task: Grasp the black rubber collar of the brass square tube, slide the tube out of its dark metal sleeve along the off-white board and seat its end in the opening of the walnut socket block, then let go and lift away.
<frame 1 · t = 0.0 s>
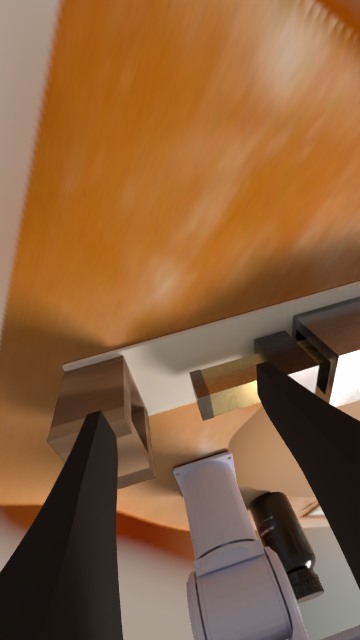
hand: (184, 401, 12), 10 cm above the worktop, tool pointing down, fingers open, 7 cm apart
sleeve: (341, 327, 25), resting on board
board: (241, 353, 25), on the worktop
supplement bottle: (266, 499, 45), on the worktop
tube: (298, 363, 22), point 3 cm above the worktop, slide at 0.0 cm
socket: (110, 394, 24), resting on board
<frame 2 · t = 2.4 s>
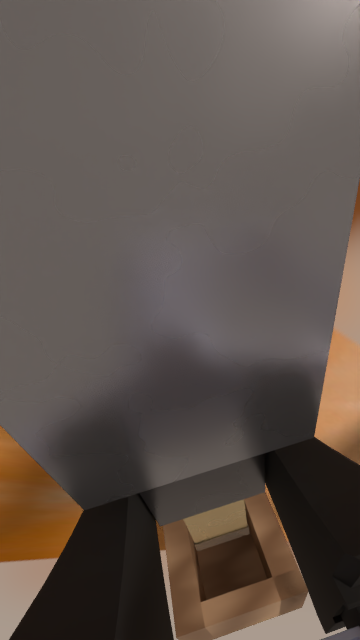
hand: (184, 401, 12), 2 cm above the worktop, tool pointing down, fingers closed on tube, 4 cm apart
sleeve: (133, 220, 9), resting on board
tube: (184, 404, 10), point 3 cm above the worktop, slide at 0.0 cm, touching gripper
socket: (214, 506, 21), resting on board
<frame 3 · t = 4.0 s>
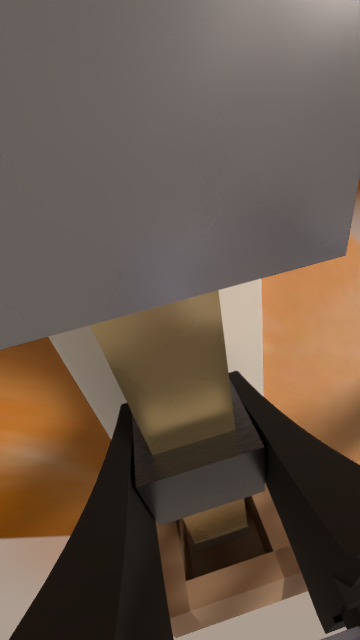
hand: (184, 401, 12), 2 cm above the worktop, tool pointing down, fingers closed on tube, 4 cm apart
board: (165, 334, 12), on the worktop
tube: (184, 403, 10), point 3 cm above the worktop, slide at 5.0 cm, touching gripper
socket: (206, 477, 19), resting on board
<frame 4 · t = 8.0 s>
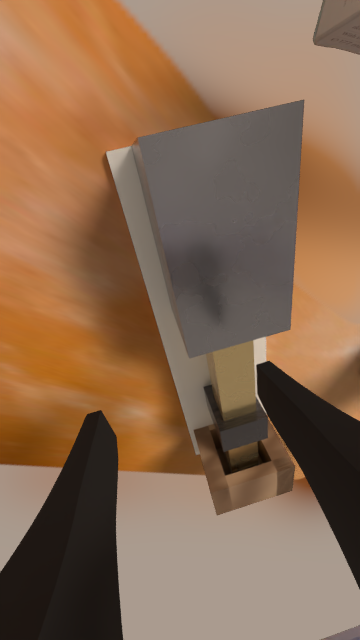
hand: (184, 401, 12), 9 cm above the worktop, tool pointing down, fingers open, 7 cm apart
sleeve: (200, 230, 17), resting on board
board: (216, 345, 23), on the worktop
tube: (232, 400, 22), point 3 cm above the worktop, slide at 7.8 cm
socket: (229, 432, 30), resting on board
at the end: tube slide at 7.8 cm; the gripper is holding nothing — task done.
